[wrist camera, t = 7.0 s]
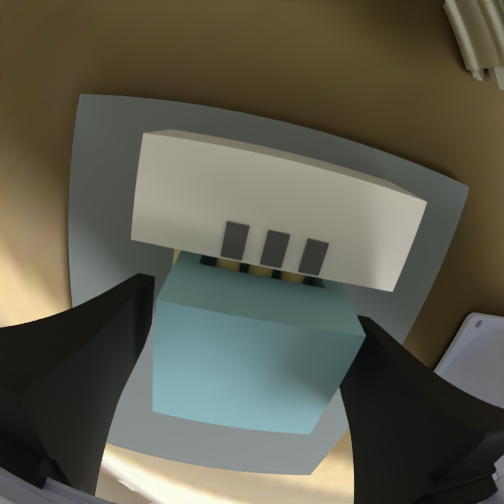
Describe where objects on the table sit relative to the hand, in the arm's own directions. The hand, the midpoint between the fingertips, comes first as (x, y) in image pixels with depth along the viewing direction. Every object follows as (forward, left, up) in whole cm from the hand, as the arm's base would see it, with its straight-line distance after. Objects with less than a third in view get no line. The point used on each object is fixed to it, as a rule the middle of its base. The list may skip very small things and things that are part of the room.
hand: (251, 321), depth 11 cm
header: (0, -3, -2) cm, 3 cm away
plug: (0, 0, -2) cm, 2 cm away
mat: (0, +4, -3) cm, 5 cm away
